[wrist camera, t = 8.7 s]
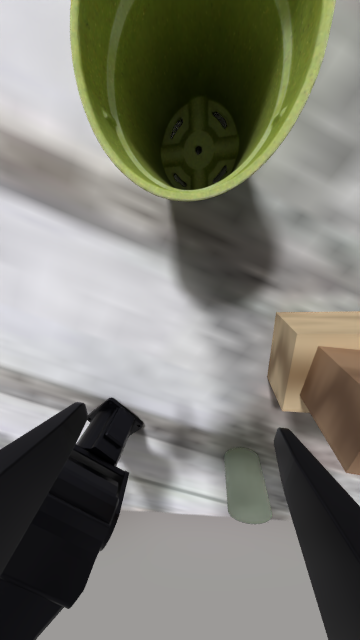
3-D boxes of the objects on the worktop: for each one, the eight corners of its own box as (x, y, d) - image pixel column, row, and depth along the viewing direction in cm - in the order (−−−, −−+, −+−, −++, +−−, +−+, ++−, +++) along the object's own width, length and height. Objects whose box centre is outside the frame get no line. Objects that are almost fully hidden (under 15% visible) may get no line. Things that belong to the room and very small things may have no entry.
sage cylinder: (238, 473, 29) (245, 527, 23) (217, 455, 28) (219, 507, 22) (266, 462, 27) (281, 518, 21) (244, 442, 26) (254, 496, 21)
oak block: (343, 378, 20) (381, 417, 16) (266, 375, 22) (282, 411, 17) (365, 310, 17) (421, 334, 13) (275, 311, 19) (297, 333, 14)
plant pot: (290, 135, 13) (409, -21, 6) (204, 244, 17) (202, 244, 9) (193, 29, 12) (165, -374, 4) (121, 170, 16) (34, 95, 8)
